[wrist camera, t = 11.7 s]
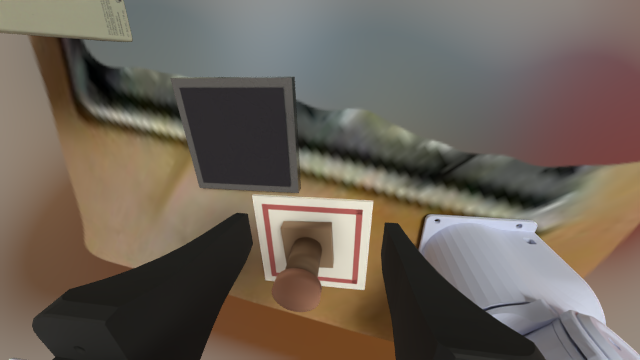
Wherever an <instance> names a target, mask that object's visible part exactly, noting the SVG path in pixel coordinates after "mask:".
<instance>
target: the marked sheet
mask: <svg viewBox="0 0 640 360" xmlns="http://www.w3.org/2000/svg"><path fill="white" fill-rule="evenodd" d="M252 198H253V204H254V211H255V217H256V223H257V229H258V236H259V242H260V248H261V254H262V261H263V267H264V273H265V279H266V280H268V281H275V279H276V277H277V275H278V274H279V273H280V272H281V271H283V270H285V268H286V265H287V264H286V258H285V252H284V246H283V240H282V235H281V229H280V228H281V226H282V224H283V221H311V222H332V233H333V251H334V264H333V268H320V267H319V272H318V279H319V281H320V283H321V286H328V287H338V288H348V289H359V290H365V280H366V270H367V260H368V250H369V239H370V229H371V219H372V209H373V201H370V200H352V199H333V198H315V197H296V196H278V195H259V194H253V195H252Z"/></svg>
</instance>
